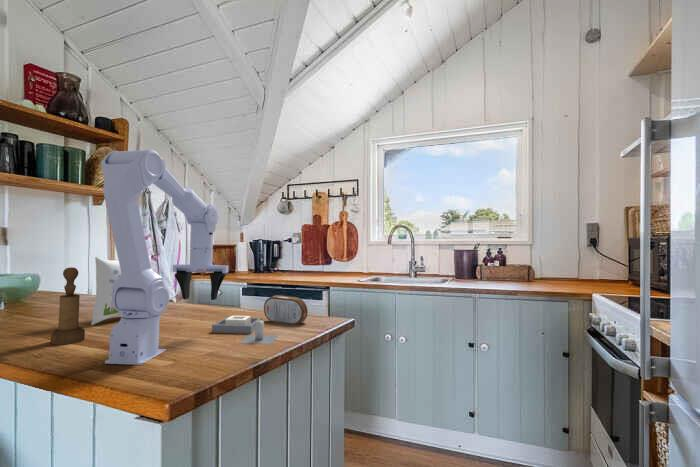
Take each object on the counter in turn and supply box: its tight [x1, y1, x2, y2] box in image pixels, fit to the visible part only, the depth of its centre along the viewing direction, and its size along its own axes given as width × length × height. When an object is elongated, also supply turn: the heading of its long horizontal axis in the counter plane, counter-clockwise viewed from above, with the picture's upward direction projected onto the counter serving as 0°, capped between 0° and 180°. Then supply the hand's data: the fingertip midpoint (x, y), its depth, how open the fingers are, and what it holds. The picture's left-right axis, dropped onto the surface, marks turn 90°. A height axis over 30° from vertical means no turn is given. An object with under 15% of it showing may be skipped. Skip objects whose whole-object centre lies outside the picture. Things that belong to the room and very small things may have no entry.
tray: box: [211, 316, 263, 335], centre depth 103 cm, size 11×11×3 cm
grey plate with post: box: [238, 319, 279, 345], centre depth 92 cm, size 8×8×5 cm
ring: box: [225, 315, 252, 325], centre depth 103 cm, size 6×6×3 cm
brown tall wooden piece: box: [50, 267, 86, 346], centre depth 89 cm, size 7×6×18 cm
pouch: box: [90, 254, 152, 326], centre depth 114 cm, size 8×19×20 cm, turn 157°
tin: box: [263, 294, 309, 325], centre depth 114 cm, size 15×3×8 cm, turn 66°
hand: (199, 299), depth 99 cm, fingers open, 7 cm apart
